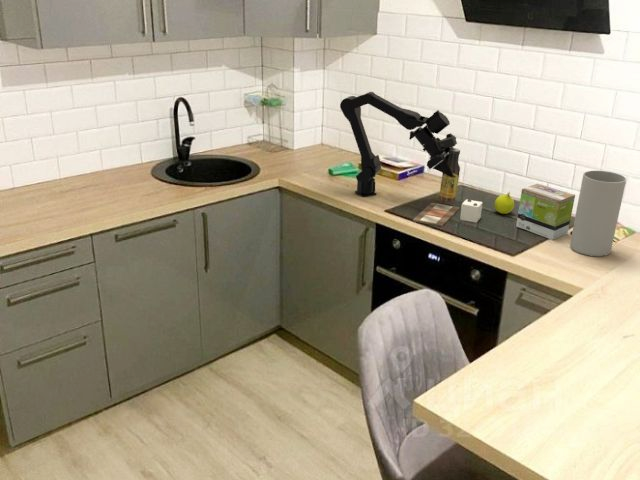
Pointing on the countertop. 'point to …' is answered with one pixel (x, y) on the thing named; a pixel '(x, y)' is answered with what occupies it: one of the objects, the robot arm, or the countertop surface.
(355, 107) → the robot arm
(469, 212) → the die
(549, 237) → the tea box
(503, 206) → the yellow-green round fruit
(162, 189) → the countertop surface
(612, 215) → the cylinder vase
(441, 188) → the sauce bottle
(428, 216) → the walnut board
